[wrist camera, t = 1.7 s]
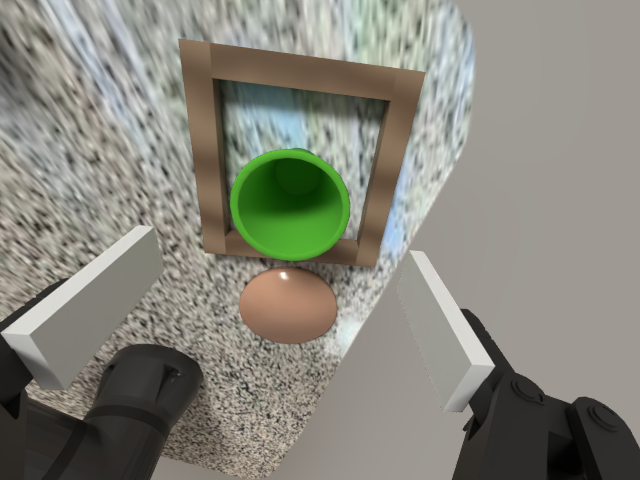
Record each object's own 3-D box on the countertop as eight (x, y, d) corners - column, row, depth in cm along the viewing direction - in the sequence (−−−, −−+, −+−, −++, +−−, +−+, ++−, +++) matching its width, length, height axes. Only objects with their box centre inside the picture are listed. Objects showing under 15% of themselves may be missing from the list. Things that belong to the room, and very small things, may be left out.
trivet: (329, 340, 43) (330, 346, 42) (242, 334, 42) (241, 340, 41) (342, 271, 36) (343, 276, 35) (239, 262, 35) (237, 268, 34)
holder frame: (371, 258, 35) (374, 266, 34) (210, 244, 34) (205, 252, 32) (418, 73, 25) (425, 72, 23) (188, 42, 23) (178, 38, 22)
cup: (342, 204, 31) (354, 255, 22) (267, 213, 32) (247, 267, 22) (335, 122, 27) (346, 141, 17) (247, 134, 27) (211, 160, 18)
